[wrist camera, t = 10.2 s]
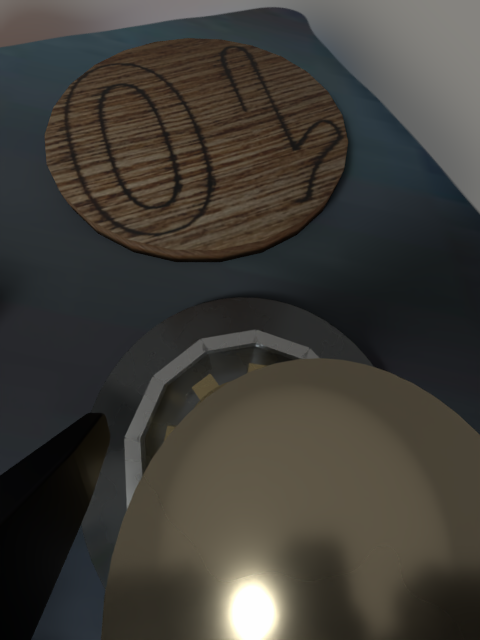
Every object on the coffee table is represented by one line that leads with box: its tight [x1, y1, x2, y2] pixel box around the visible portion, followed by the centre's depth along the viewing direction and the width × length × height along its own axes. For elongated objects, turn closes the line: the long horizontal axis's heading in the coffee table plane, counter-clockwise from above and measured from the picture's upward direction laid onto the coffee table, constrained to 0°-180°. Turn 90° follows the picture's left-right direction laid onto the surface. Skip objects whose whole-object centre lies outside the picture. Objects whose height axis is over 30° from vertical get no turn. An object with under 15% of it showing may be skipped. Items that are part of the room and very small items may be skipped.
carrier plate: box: [82, 297, 374, 589], centre depth 15 cm, size 18×18×2 cm
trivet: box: [45, 38, 348, 262], centre depth 23 cm, size 25×25×2 cm
